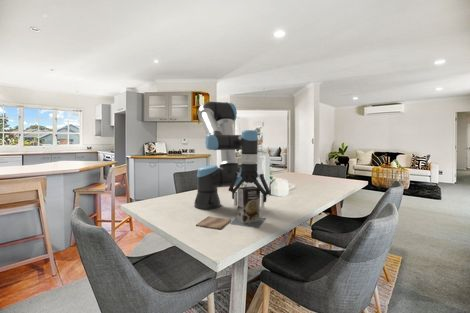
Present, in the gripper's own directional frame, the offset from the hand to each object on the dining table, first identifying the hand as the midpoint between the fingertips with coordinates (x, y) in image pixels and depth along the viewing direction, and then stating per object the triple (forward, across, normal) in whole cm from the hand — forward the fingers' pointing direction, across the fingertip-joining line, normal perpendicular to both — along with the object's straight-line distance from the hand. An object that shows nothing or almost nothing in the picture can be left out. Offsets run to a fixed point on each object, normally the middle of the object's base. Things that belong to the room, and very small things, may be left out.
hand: (248, 207), depth 111 cm
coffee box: (+7, 0, 0) cm, 7 cm away
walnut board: (+7, -14, -9) cm, 18 cm away
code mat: (+7, 0, 0) cm, 7 cm away
